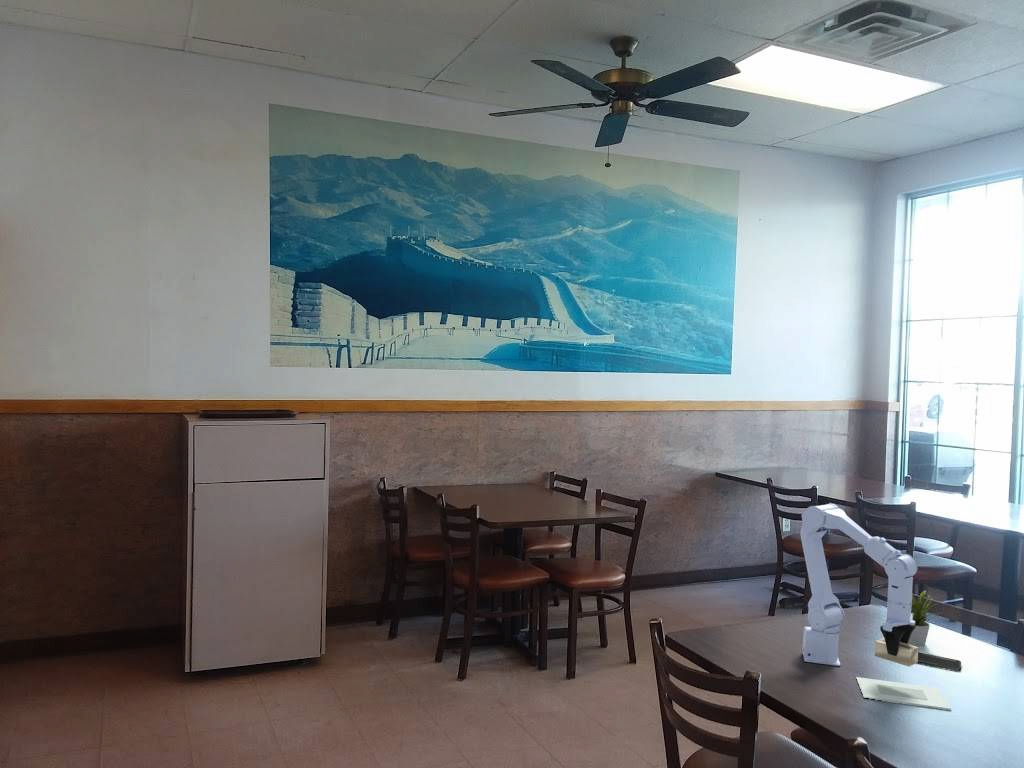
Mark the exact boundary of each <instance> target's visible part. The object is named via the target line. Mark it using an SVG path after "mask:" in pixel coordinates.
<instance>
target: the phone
mask: <svg viewBox="0 0 1024 768" xmlns="http://www.w3.org/2000/svg"><path fill="white" fill-rule="evenodd" d="M916 664H917V665H918V664H919V665H923V664H924V665H923V666H928V665H929V666H928V667H933V666H934V667H933V668H937V667H939V668H938V669H942V668H945V669H944V670H947V669H950V670H949V671H952V670H954V671H953V672H958V671H959V672H962V661H961V660H958V659H954V658H950V657H949V658H948V657H944V656H938V655H934V654H928V653H924V652H919V651H918V662H917V663H916Z"/></svg>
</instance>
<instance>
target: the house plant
mask: <svg viewBox="0 0 1024 768" xmlns="http://www.w3.org/2000/svg"><path fill="white" fill-rule="evenodd" d="M926 595H927V590H926V589H925V590H924V591H922V592H920V594H919V596H918V597H917V600H916V598H915V597H914V595H912V603H911V613H913V621H915V625H916V627H915V629H914V630H913V632H912V634H911V636H910V638H909V641H908V644H909V645H912V646H916V647H923V646H926V643H927V639H928V634H929V630H930V626H931V625H930V623H929V621H930V619H929V618H928V619H927V617H929V616H931V615H933V614H937V615H940V613H938V612H931V613H929V614H927V615H926V613H927V612H928V611H929V610H930V609H931V608H933V606H935V605H936V604H937V602H935V603H934V604H931V603H932V600H933V596H932V597H931V598H930V594H928V596H927V598H926V600H925V601H924V599H925V597H926ZM929 599H930V600H929ZM923 602H924V604H923ZM930 605H931V606H930ZM927 621H928V622H927Z"/></svg>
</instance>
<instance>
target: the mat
mask: <svg viewBox="0 0 1024 768" xmlns="http://www.w3.org/2000/svg"><path fill="white" fill-rule="evenodd" d="M855 679H857V680H856V682H857V685H858V684H859V685H858V687H859V689H861V690H860V692H862V693H861V695H862V694H863V695H862V697H864V698H869V699H868V700H871V699H875V700H874V701H878V700H882V701H881V702H885V701H886V702H888V703H894V704H900V703H901V705H907V706H915V707H921V706H922V707H921V708H928V707H931V708H930V709H936V708H937V710H944V711H950V712H951V711H952V707H951V706H950V704H949V702H948V701H947V699H946V698H945V696H944V694H943V693H942V692H941V690H940V688H939V687H935V686H934V687H933V686H927V685H918V684H913V683H912V684H910V683H904V682H896V681H889V680H883V679H881V680H880V679H876V678H875V679H874V678H866V677H859V676H856V677H855ZM864 698H863V699H864Z"/></svg>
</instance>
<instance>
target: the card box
mask: <svg viewBox="0 0 1024 768" xmlns="http://www.w3.org/2000/svg"><path fill="white" fill-rule="evenodd" d="M918 652H919V646H917V645H912V644H909V643H908V644H906V643H902V642H900V644H899V649H898V654H897V656H893V655H890V654H888V652H887V648H886V643H885V639H884V636H883V637H881V638H879V639H877V640H875V645H874V656H875V657H877V658H880V659H883V660H886V661H889V662H893V663H895V664H896V663H897V664H899V665H902V666H905V667H908V668H909V667H912V666H913V665H915V664H918V663H917V662H918Z"/></svg>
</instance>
